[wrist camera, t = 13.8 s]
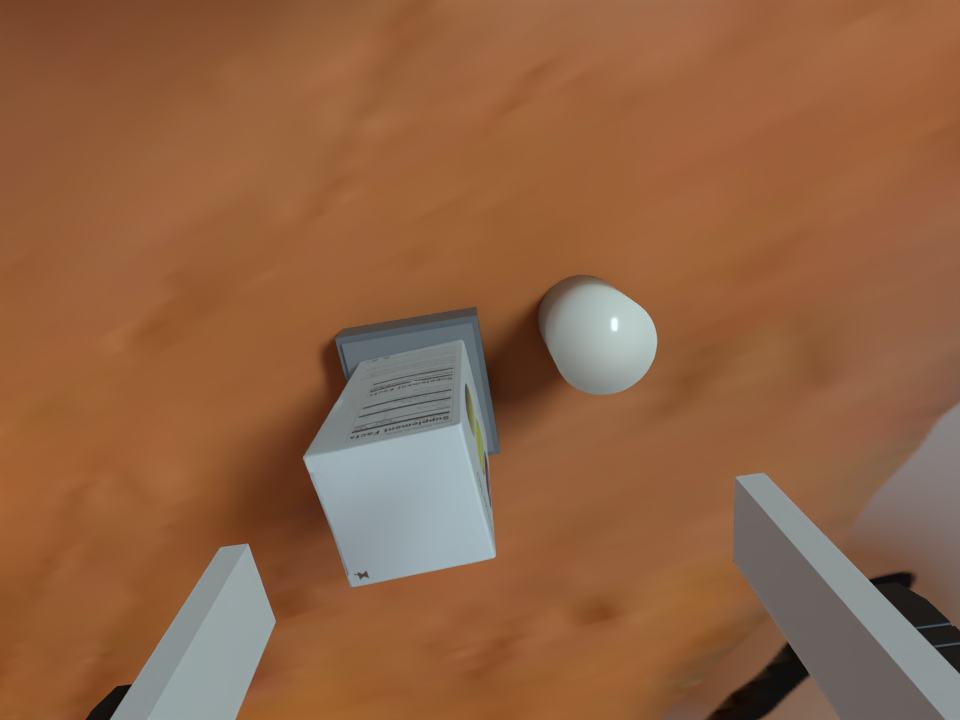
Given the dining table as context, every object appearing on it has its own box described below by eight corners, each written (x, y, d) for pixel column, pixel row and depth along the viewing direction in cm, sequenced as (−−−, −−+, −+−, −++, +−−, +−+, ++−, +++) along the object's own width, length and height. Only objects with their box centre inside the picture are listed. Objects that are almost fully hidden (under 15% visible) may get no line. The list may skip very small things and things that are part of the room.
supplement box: (488, 436, 48) (500, 564, 32) (388, 458, 48) (350, 596, 32) (463, 335, 45) (462, 420, 29) (356, 359, 45) (297, 457, 29)
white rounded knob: (532, 282, 47) (547, 305, 38) (619, 268, 47) (653, 287, 38) (543, 363, 49) (559, 402, 41) (625, 350, 49) (659, 386, 41)
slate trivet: (342, 329, 48) (334, 339, 45) (476, 307, 47) (476, 315, 44) (375, 457, 52) (369, 475, 49) (498, 438, 52) (500, 454, 48)
